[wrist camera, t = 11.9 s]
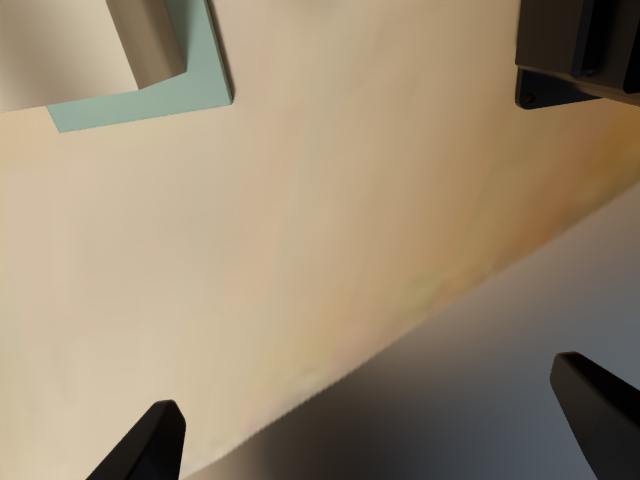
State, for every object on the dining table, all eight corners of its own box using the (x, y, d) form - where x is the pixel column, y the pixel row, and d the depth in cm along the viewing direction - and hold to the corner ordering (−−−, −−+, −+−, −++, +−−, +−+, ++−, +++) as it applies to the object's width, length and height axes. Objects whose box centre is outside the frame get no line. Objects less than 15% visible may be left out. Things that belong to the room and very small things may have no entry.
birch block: (140, -81, 13) (55, -134, 9) (186, 71, 15) (138, 90, 11) (7, -56, 13) (-139, -94, 9) (74, 90, 16) (-15, 115, 11)
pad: (171, -138, 13) (165, -145, 12) (233, 102, 17) (230, 105, 16) (-44, -94, 13) (-59, -99, 13) (67, 129, 17) (59, 133, 17)
